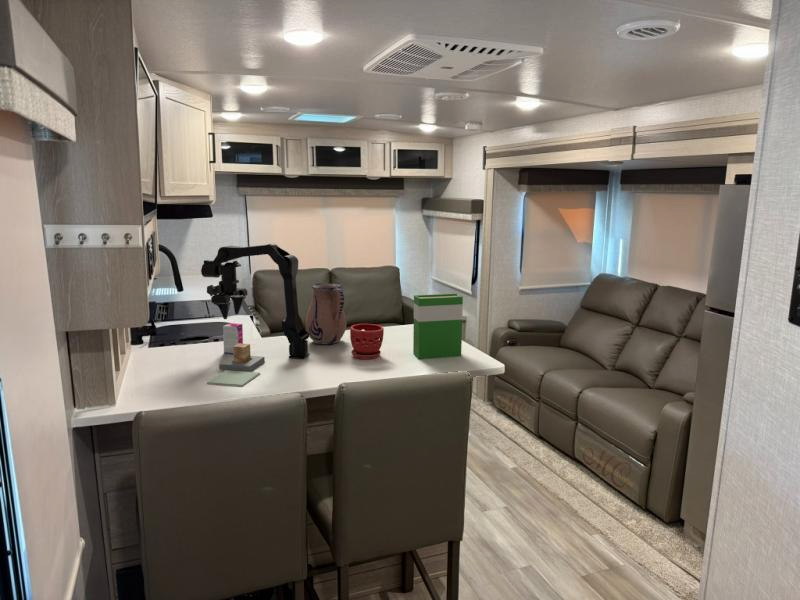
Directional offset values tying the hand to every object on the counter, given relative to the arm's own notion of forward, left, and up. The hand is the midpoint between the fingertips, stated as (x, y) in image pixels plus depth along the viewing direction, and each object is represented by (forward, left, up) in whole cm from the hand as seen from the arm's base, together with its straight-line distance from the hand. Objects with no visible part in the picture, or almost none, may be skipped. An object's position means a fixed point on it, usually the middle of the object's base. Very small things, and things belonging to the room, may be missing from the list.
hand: (231, 316), depth 217 cm
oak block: (-12, +16, -15) cm, 25 cm away
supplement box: (0, 0, -15) cm, 15 cm away
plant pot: (-54, -6, -15) cm, 57 cm away
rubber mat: (-16, +30, -15) cm, 37 cm away
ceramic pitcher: (-33, -22, -15) cm, 43 cm away
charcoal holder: (-12, +16, -15) cm, 25 cm away
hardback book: (-81, -13, -15) cm, 84 cm away
